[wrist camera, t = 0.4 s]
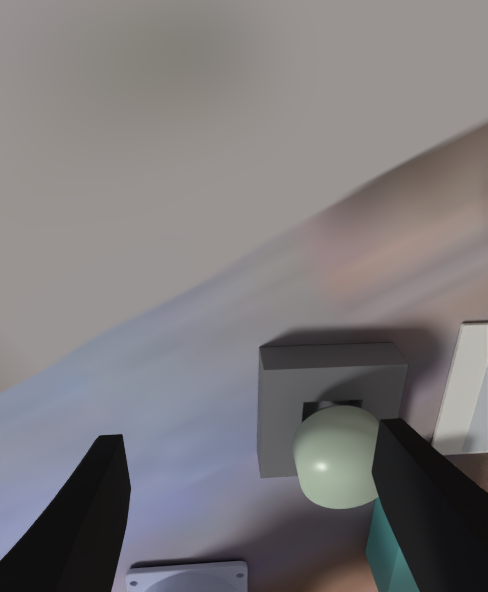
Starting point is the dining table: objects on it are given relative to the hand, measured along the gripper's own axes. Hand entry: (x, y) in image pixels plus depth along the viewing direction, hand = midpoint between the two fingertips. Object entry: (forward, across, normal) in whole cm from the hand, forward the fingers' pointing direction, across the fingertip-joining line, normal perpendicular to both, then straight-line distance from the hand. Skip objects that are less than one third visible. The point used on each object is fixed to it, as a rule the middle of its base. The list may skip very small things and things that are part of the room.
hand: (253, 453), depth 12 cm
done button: (+8, -5, +6) cm, 11 cm away
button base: (+10, -5, +6) cm, 13 cm away
